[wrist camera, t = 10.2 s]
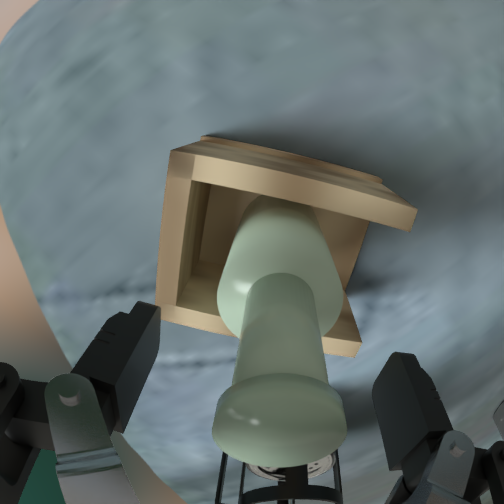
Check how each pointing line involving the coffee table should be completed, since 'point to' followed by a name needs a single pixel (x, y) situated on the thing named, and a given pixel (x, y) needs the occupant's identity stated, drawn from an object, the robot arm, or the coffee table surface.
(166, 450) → the coffee table surface
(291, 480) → the french press
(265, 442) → the pale green pin
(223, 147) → the u rest
